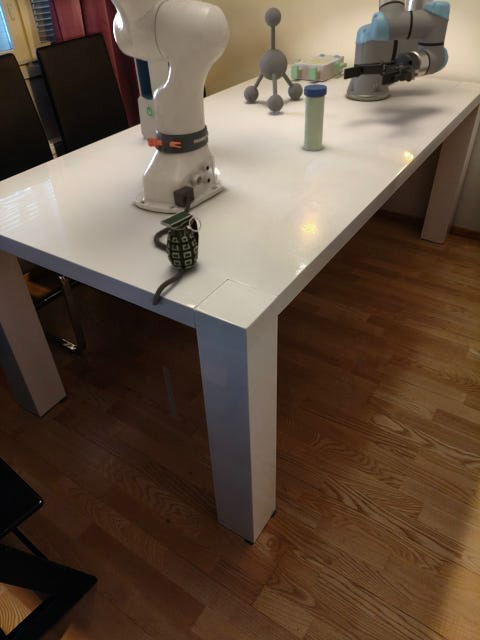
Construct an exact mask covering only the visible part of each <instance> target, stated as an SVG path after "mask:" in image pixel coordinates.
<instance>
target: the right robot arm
mask: <svg viewBox="0 0 480 640" xmlns="http://www.w3.org/2000/svg"><path fill="white" fill-rule="evenodd" d="M450 11H451V3H450V2H449V1H447V0H378V11H377V12H374V13H373V14H372V18H371V22H370V23H366V24H363V25H362V26H360V27H359V28H358V29H357V32H356V38H355V42H354V44H355V50H354V60H353V61H354V62H353V66H352V67H345V68H343V80H349V79H350V81H349V83H348V86H347V89H346V97H347V98H348V99H350V100H355V101H360V102H361V101H362V102H363V101H364V102H373V101H374V102H375V101H380V100H381V101H382V100H384V99H387V98H388V97H389V95H390V88H389V85H391V84H394V83H397V82H401V83H402V82H407V83H410V82H412V81H415V80H416V78H420V77H424V76H429V75H435V74H436V73H438V72H441V71H442V70H443V69H445V67H447V64H448V62H449V53H448V50H447V48H446V47H445V41H446V35H447V30H448V25H449V21H450V13H451V12H450Z"/></svg>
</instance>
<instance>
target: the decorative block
mask: <svg viewBox="0 0 480 640" xmlns="http://www.w3.org/2000/svg"><path fill="white" fill-rule="evenodd" d="M346 68H348V63H347V62H345V56H344V55H339V54H334V55H332V54H331V55H330V54H325V53H320V54H318V55H316V56H310V57H307V58H304V59H296V60H295V62H294V63H293V64H292V65H291V66H290V79H295V80H306V81H315V82H325V81H327V80H329V79H331V78H333V77H336V76H338V75H340V74H341V72H344V69H346Z"/></svg>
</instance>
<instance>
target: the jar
mask: <svg viewBox="0 0 480 640" xmlns="http://www.w3.org/2000/svg"><path fill="white" fill-rule="evenodd" d="M325 96H326V95H325ZM325 96H322V97H308V96H305V104H304V105H305V106H304V108H305V109H304V135H303V149H304V150H306V151H311V152H314V151H320V150H322V148H323V136H324V135H323V134H324V117H325V116H324V115H325V98H326V97H325Z"/></svg>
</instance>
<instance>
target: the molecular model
mask: <svg viewBox="0 0 480 640" xmlns="http://www.w3.org/2000/svg"><path fill="white" fill-rule="evenodd" d="M281 20H282V13H281V11H280V9H278V8H277V7H274V6H273V7H272V6H271V7H269V8H268V9H267V10H266V11H265V13H264V21H265V24H266V25H267V26H268V27H270V49H267V50H266V51H264V53H263V54H262V55H261V57H260V59H259V65H258V66H259V71H260V74H259V75H258V77H257V79H256V81H255V83H254V84H253V85H248V86H247V87H246V88H245V89H244V91H243V97H244V99H245V101H247V102H248V103H254V102H256V101H257V100H258V98H259V94H260V92H259V90H258V87H259V85H260V83H261V82H262V80H263V78H265V79H266V80H268V81H271V82H272V94H271V95H270V96H269V97H268V98H267V108H268V109H269V110H270V111H271V112H273V113H277V112H280V111H281V110H282V109H283V107H284V99H283V97H282V96H281V95H280V94H278V80H279V79H281V78H283V79H284V81H285V82H286V84H287V86H288V89H287V94H288V97H289V98H290V99H292V100H298V99H300V98H301V97H302V96H303V94H304V88H303V86H302V85H301V83H298V82H294V83H293V82H292V80H291V78H289V76H288V74H287V73H286V72H287V69H288V59H287V56H286V55H285V53H284V52H283V51H282V50H280V49H278V48H276V27H278V25H280V23H281V22H282V21H281Z"/></svg>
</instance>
